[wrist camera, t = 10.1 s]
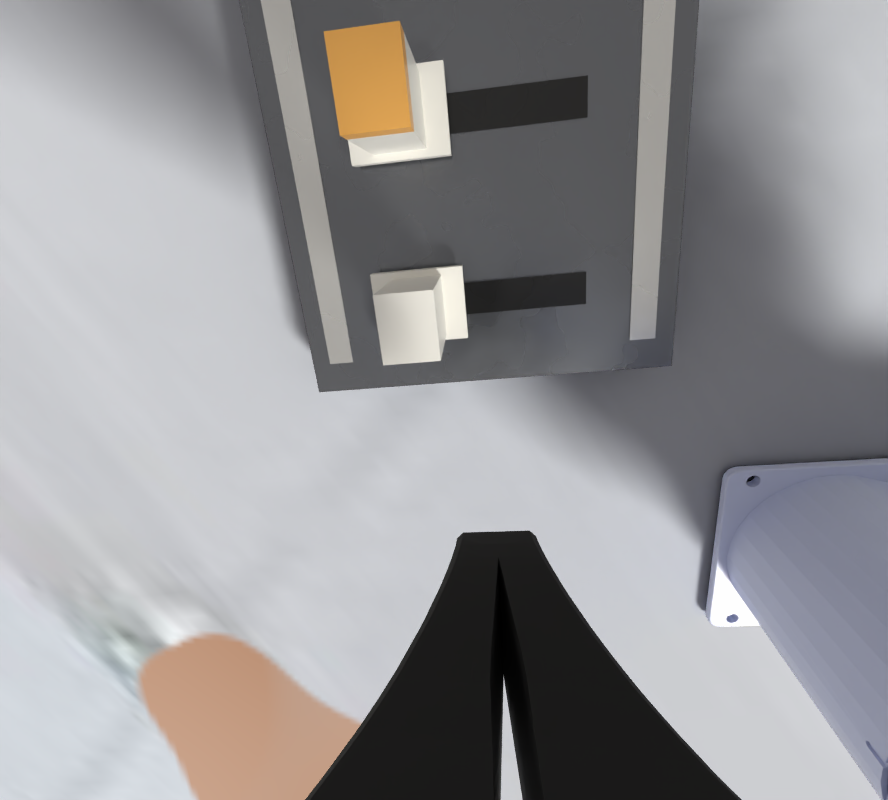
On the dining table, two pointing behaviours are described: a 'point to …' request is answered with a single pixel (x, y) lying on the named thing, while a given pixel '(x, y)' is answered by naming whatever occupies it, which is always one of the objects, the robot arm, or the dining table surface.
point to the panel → (492, 182)
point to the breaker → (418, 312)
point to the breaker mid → (386, 96)
